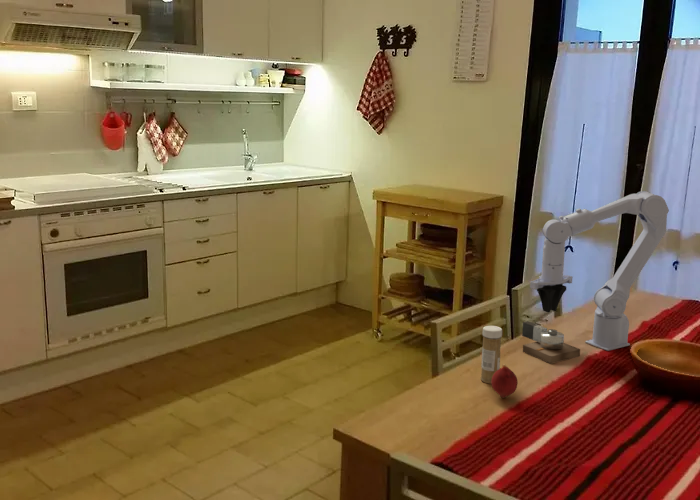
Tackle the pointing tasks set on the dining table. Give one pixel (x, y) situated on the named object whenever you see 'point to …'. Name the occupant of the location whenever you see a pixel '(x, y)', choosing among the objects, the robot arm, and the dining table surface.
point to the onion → (504, 381)
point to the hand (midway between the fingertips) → (549, 310)
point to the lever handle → (543, 335)
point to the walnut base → (551, 352)
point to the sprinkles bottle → (490, 352)
